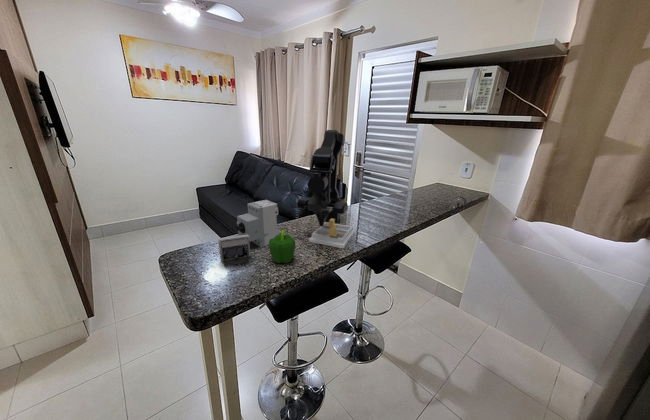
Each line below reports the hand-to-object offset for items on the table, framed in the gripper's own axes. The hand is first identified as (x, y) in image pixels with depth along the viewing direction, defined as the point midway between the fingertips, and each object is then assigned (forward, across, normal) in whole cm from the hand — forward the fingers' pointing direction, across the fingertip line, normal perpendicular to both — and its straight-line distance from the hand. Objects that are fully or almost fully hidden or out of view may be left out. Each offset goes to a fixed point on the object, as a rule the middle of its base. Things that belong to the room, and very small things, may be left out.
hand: (321, 226), depth 97 cm
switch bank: (+6, +3, +4) cm, 8 cm away
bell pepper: (+6, -6, -20) cm, 21 cm away
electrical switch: (+6, -19, -27) cm, 33 cm away
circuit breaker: (+6, -21, -13) cm, 25 cm away
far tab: (+4, +1, +8) cm, 9 cm away
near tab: (+4, +5, 0) cm, 6 cm away
